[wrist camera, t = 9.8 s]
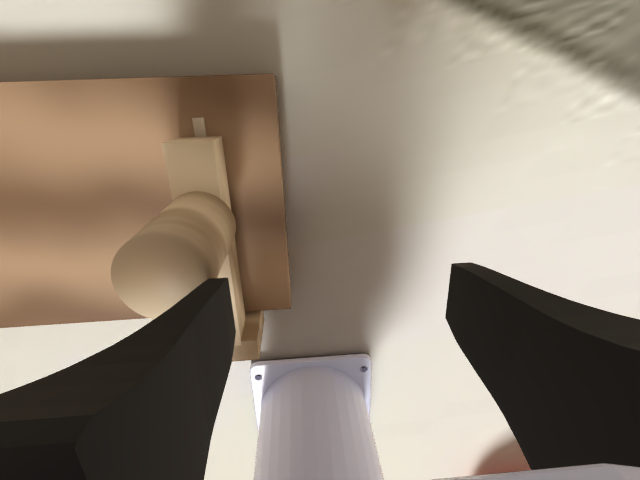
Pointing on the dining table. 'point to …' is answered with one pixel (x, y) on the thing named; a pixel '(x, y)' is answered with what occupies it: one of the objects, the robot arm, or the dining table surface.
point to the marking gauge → (188, 242)
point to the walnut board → (127, 186)
